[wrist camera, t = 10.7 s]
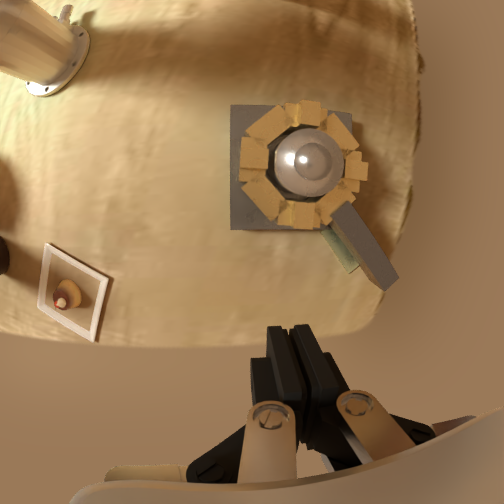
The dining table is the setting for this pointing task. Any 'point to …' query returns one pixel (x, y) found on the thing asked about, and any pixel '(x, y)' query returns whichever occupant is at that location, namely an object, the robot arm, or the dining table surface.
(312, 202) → the ring nut
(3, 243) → the bottle
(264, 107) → the housing
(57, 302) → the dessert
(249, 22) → the dining table surface
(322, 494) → the robot arm
